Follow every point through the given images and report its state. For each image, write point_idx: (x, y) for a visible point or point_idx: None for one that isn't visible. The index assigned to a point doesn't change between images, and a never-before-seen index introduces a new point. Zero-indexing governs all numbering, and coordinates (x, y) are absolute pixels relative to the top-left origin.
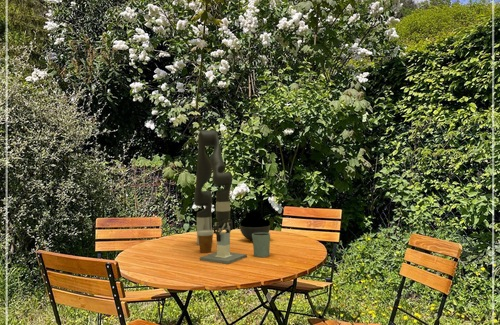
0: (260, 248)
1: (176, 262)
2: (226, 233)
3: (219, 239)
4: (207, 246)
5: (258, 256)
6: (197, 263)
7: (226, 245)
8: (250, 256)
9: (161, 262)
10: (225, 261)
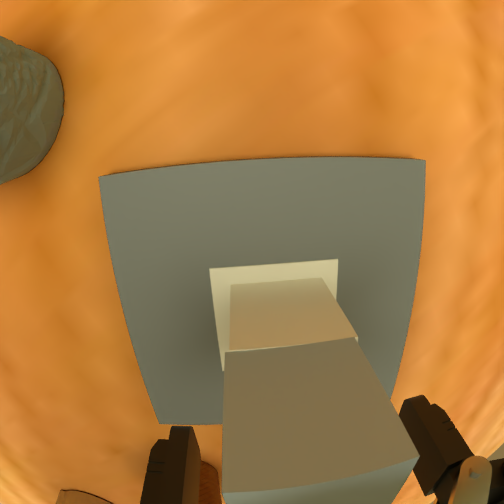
0: (17, 59)
1: None
2: (320, 492)
3: (431, 415)
4: (199, 489)
5: (61, 89)
6: (450, 344)
7: (313, 340)
8: (74, 165)
9: None
10: (423, 184)
